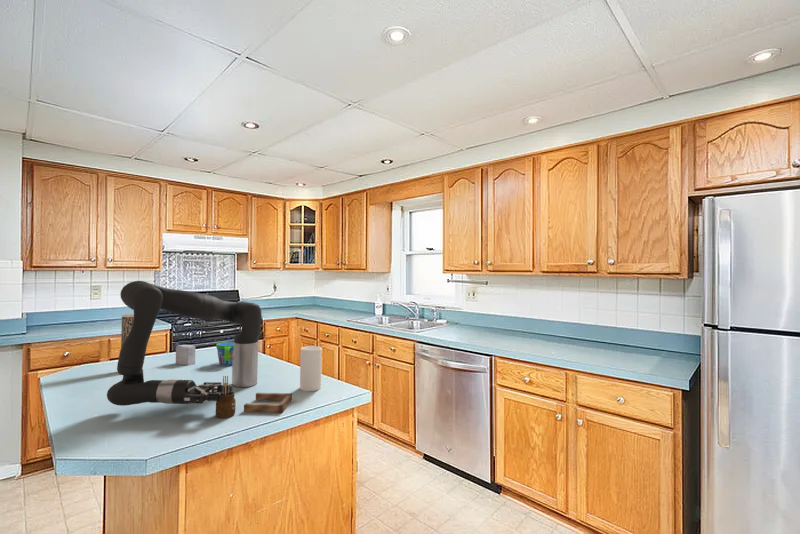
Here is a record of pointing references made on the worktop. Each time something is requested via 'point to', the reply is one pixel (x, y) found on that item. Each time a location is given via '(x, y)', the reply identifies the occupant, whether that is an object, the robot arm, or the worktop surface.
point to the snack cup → (225, 353)
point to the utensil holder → (225, 403)
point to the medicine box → (185, 354)
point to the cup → (310, 368)
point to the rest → (270, 408)
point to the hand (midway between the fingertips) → (226, 392)
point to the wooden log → (126, 326)
